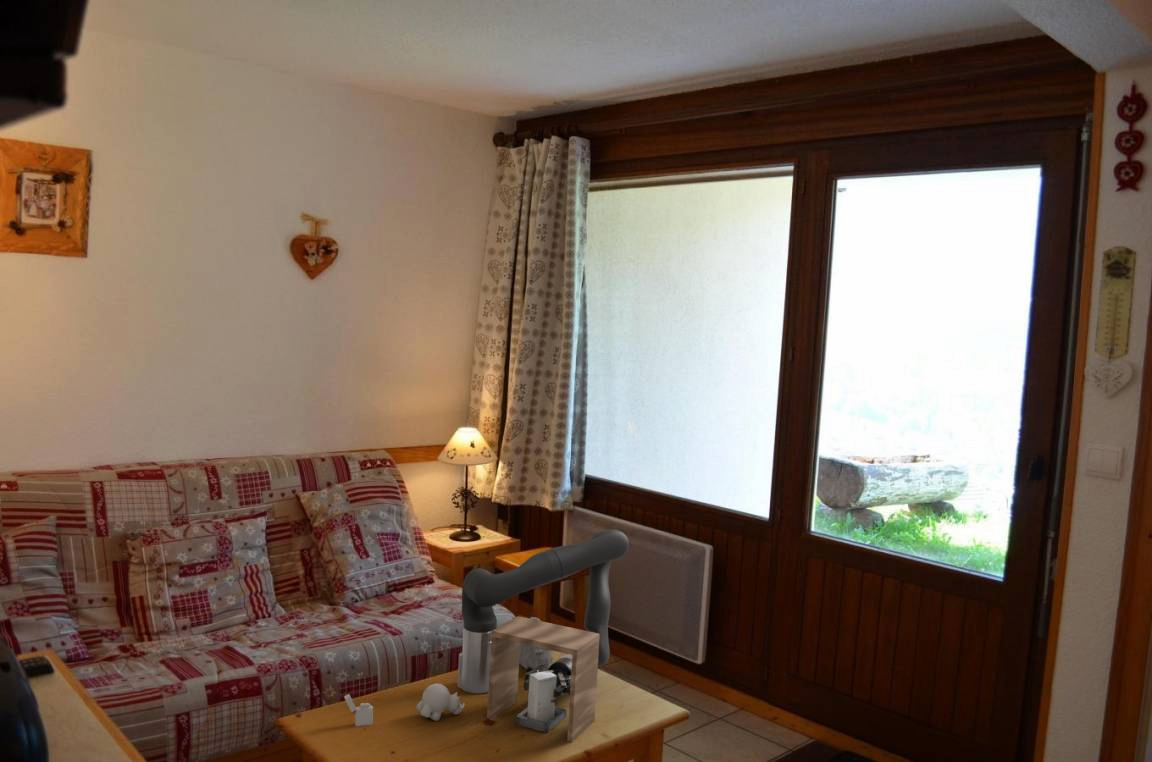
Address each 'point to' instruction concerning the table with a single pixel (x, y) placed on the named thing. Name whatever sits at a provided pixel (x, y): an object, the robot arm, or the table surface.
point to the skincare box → (541, 696)
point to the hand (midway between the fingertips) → (539, 690)
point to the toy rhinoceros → (438, 702)
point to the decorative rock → (535, 656)
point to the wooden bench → (550, 638)
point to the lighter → (361, 712)
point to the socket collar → (540, 725)
